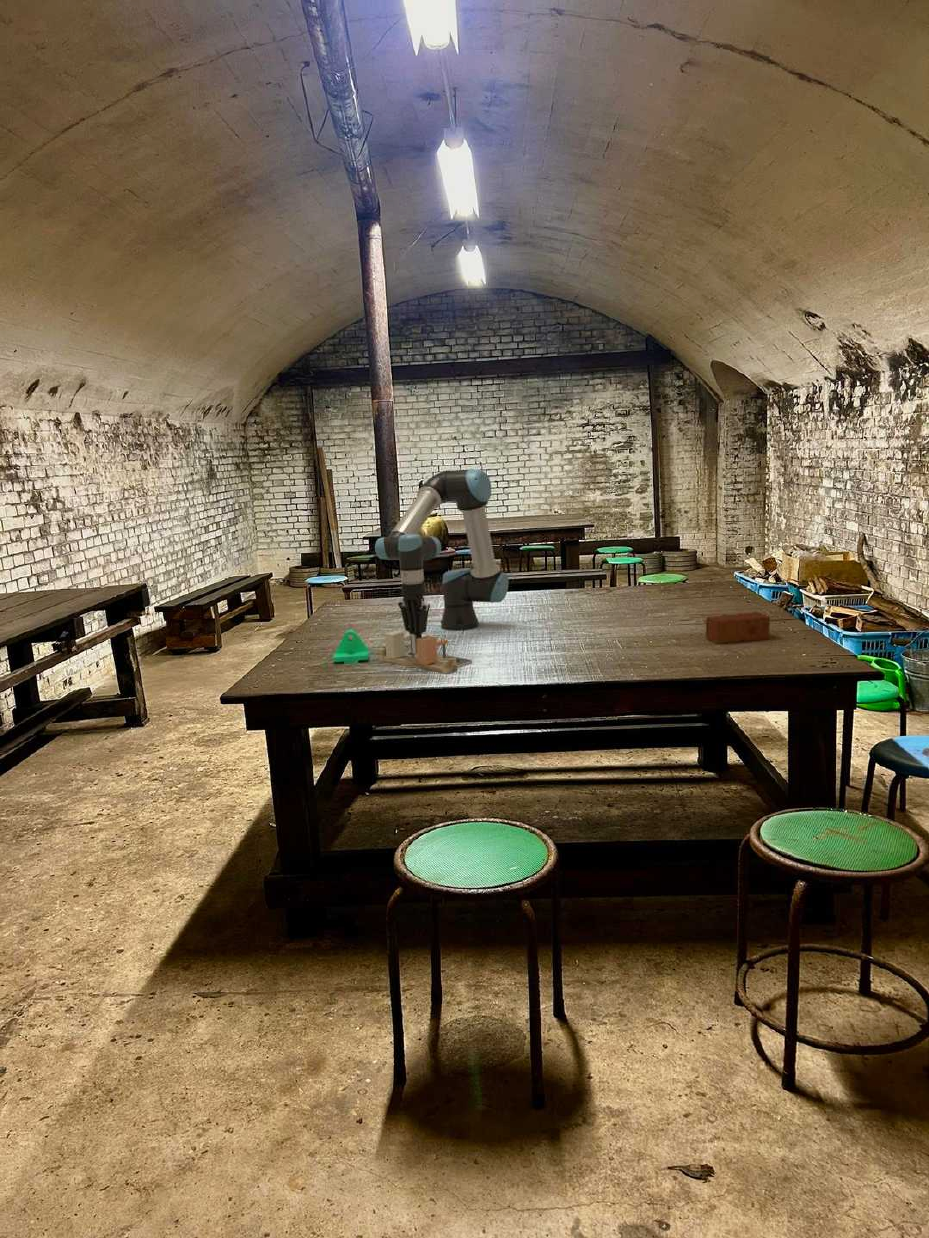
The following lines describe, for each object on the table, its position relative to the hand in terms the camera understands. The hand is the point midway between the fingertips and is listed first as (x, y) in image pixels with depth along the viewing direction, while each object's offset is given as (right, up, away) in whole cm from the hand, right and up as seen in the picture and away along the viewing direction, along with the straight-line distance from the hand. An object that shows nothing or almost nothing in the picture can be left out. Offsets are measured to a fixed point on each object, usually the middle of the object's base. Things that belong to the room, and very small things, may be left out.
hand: (417, 652), depth 255 cm
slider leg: (+6, -3, 0) cm, 6 cm away
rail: (0, -4, +1) cm, 5 cm away
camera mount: (-23, -4, +12) cm, 27 cm away
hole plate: (+5, -3, +7) cm, 9 cm away
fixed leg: (-5, -1, +10) cm, 11 cm away
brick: (+111, +4, +14) cm, 112 cm away
